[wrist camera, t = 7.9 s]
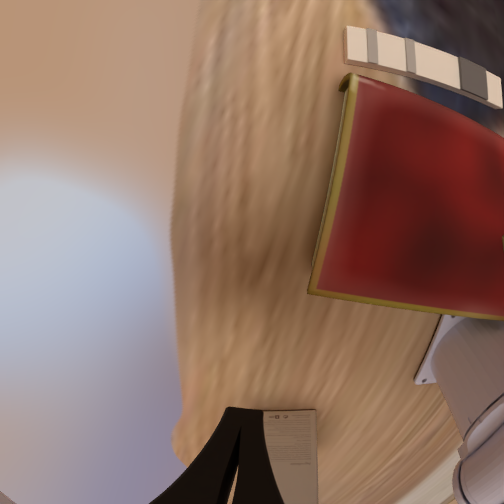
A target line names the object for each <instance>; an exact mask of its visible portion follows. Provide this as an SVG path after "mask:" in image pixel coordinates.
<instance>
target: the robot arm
mask: <svg viewBox="0 0 504 504" xmlns="http://www.w3.org/2000/svg"><path fill="white" fill-rule="evenodd" d="M414 382H415V384H417V385H419V384H428V383H438V385H439V387H440V389H441V391H442V393H443V395H444V398H445V400H446V402H447V404H448V406H449V409H450V411H451V413H452V415H453V418H454V420H455V422H456V425H457V427H458V429H459V432H460V434H461V437H462V439H463V442H464V443H463V444H462V445H461V446H460V447H459V448H458V453H459V455H460V458H461V460H460V461H459V462H458V463H457V465H456V467H455V469H454V473H453V479H452V484H453V492H454V496H455V499H456V501H457V503H458V504H504V321H497V320H488V319H479V318H470V317H461V316H453V315H445V314H442V317H441V320H440V322H439V325H438V327H437V330H436V332H435V335H434V337H433V340H432V342H431V344H430V347H429V349H428V351H427V354H426V356H425V358H424V360H423V362H422V364H421V367H420V369H419V371H418V373H417V375H416V377H415V379H414ZM263 416H264V412H263V411H261V410H254V409H245V408H236V407H227V408H226V409H225V412H224V414H223V416H222V418H221V420H220V422H219V424H218V426H217V428H216V429H215V431H214V433H213V434H212V436H211V437H210V439H209V440H208V442H207V443H206V445H205V446H204V448H203V449H202V451H201V452H200V453H199V454H198V456H197V457H196V458H195V459H194V461H193V462H192V463H191V464H190V466H189V467H188V468H187V469H186V470H185V471H184V472H183V474H182V475H181V476H180V477H179V478H178V479H177V480H176V481H175V482H174V483H173V484H172V485H171V486H169V487H168V488H167V489H166V490H165V491H164V492H163V493H162V494H160V495H159V496H158V497H157V498H155V499H154V500H153V501H152V502H150V503H149V504H227V502H228V498H229V495H230V491H231V488H232V485H233V481H234V478H235V474H236V471H237V467H238V475H237V482H236V487H235V492H234V497H233V502H232V504H285V503H284V501H283V499H282V496H281V494H280V491H279V489H278V486H277V483H276V480H275V477H274V474H273V471H272V467H271V464H270V460H269V455H268V451H267V446H266V441H265V434H264V423H263ZM0 504H16V503H15V502H13V501H12V500H10V499H9V498H8V497H7V496H6V495H4V494H3V493H2V492H1V491H0Z"/></svg>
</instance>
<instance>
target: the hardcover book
mask: <svg viewBox="0 0 504 504" xmlns="http://www.w3.org/2000/svg"><path fill="white" fill-rule="evenodd" d="M339 91H341V92H345V95H344V102H343V109H342V115H341V121H340V128H339V134H338V139H337V145H336V151H335V156H334V162H333V167H332V172H331V177H330V182H329V187H328V192H327V197H326V202H325V207H324V211H323V216H322V221H321V225H320V229H319V234H318V238H317V242H316V247H315V251H314V255H313V259H312V263H311V265H312V273H311V277H310V281H309V285H308V289H307V294H311V295H317V296H323V297H329V298H335V299H341V300H347V301H354V302H360V303H366V304H373V305H380V306H386V307H393V308H400V309H407V310H415V311H422V312H429V313H437V314H445V315H453V316H461V317H470V318H479V319H488V320H497V321H504V138H503V137H501V136H500V135H498V134H496V133H495V132H493V131H491V130H490V129H488V128H486V127H484V126H482V125H481V124H479V123H477V122H475V121H473V120H471V119H470V118H468V117H466V116H464V115H462V114H460V113H458V112H456V111H454V110H452V109H449V108H447V107H445V106H443V105H441V104H438V103H436V102H434V101H432V100H429V99H427V98H424V97H422V96H419V95H417V94H414V93H412V92H409V91H407V90H404V89H401V88H398V87H395V86H393V85H390V84H387V83H384V82H381V81H377V80H374V79H371V78H368V77H364V76H361V75H357V74H353V73H348V74H347V75H346V76H345V77H344V78H343V80H342V81H341V83H340V85H339Z"/></svg>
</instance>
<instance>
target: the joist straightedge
mask: <svg viewBox="0 0 504 504" xmlns="http://www.w3.org/2000/svg"><path fill="white" fill-rule="evenodd" d="M344 64H350V65H356V66H361V67H367V68H372V69H377V70H381V71H386V72H390V73H394V74H398V75H402V76H406V77H409V78H413V79H417V80H420V81H423V82H427V83H430V84H433V85H436V86H439V87H442V88H445V89H448V90H450V91H453V92H456V93H458V94H461V95H464V96H466V97H469V98H471V99H473V100H476V101H478V102H480V103H483V104H485V105H487V106H489V107H492V108H494V109H500V108H502V90H501V79H500V78H499V77H497V76H495V75H493V74H492V73H490V72H488V71H486V69H485V68H483V67H481V66H479V65H477V64H475V63H473V62H471V61H469V60H466V59H464V58H462V57H455V56H453V55H450V54H448V53H445V52H443V51H440V50H437V49H435V48H432V47H429V46H426V45H423V44H420V43H417V42H414V40H412V39H408V38H405V39H404V38H400V37H397V36H393V35H389V34H385V33H381V32H377V30H374V29H369V28H367V29H363V28H358V27H352V26H346V28H345V30H344Z"/></svg>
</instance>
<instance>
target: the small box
mask: <svg viewBox="0 0 504 504" xmlns="http://www.w3.org/2000/svg"><path fill="white" fill-rule="evenodd" d="M263 412H264V416H263V423H264V434H265V441H266V446H267V451H268V455H269V460H270V464H271V467H272V471H273V474H274V477H275V480H276V483H277V486H278V489H279V491H280V494H281V496H282V499H283V501H284V503H285V504H318V461H317V422H316V410H302V411H263Z"/></svg>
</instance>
